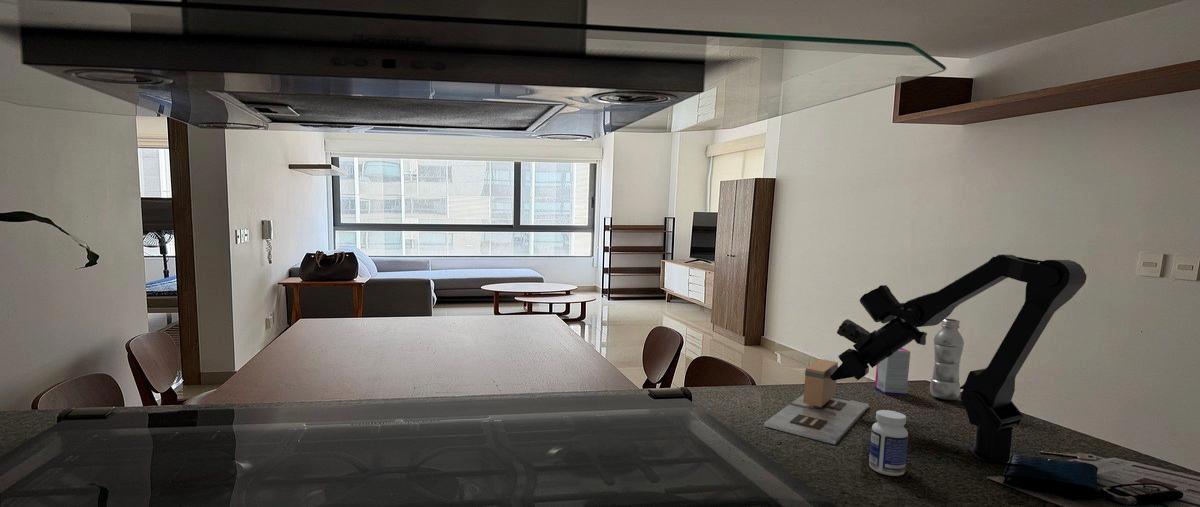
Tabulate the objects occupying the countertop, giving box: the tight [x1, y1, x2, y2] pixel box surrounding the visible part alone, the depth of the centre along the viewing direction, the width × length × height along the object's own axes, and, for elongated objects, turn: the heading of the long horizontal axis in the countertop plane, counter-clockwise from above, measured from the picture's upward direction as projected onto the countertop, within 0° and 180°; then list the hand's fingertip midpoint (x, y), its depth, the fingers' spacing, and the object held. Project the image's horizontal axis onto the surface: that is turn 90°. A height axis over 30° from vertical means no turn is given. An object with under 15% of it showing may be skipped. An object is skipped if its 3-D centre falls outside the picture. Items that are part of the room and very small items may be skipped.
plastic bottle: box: [929, 318, 965, 401], centre depth 145 cm, size 6×7×20 cm
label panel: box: [763, 393, 870, 446], centre depth 128 cm, size 14×30×1 cm, turn 144°
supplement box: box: [874, 347, 911, 396], centre depth 150 cm, size 6×6×12 cm
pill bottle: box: [868, 409, 909, 477], centre depth 101 cm, size 6×6×10 cm
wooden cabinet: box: [803, 358, 839, 407], centre depth 136 cm, size 4×12×8 cm, turn 144°
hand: (831, 378), depth 134 cm, fingers closed, pressing on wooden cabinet
